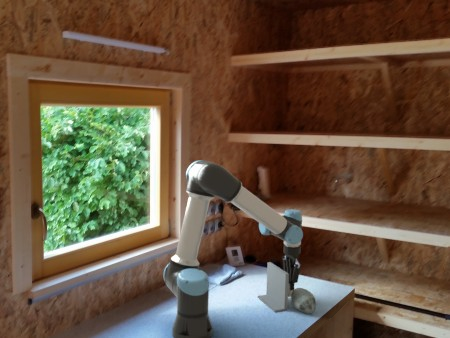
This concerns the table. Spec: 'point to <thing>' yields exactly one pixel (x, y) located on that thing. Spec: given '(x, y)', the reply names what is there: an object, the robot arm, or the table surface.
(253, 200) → the robot arm
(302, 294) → the grey streaked ovoid
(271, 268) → the grey screen
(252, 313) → the table surface
